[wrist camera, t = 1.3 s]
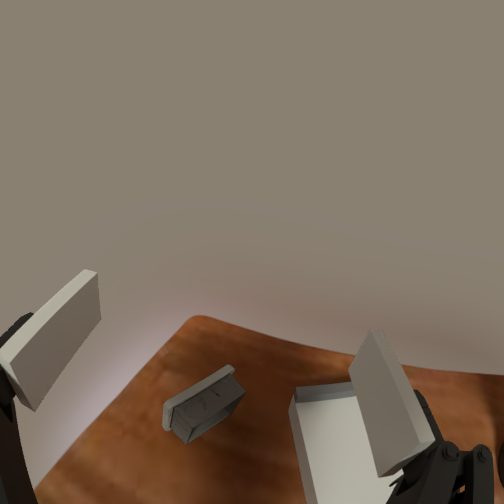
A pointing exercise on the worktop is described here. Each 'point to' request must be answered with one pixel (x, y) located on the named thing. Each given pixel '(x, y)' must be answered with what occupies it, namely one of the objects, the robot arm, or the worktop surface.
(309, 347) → the worktop surface
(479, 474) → the robot arm
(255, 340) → the worktop surface
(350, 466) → the white square box
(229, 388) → the electrical switch
